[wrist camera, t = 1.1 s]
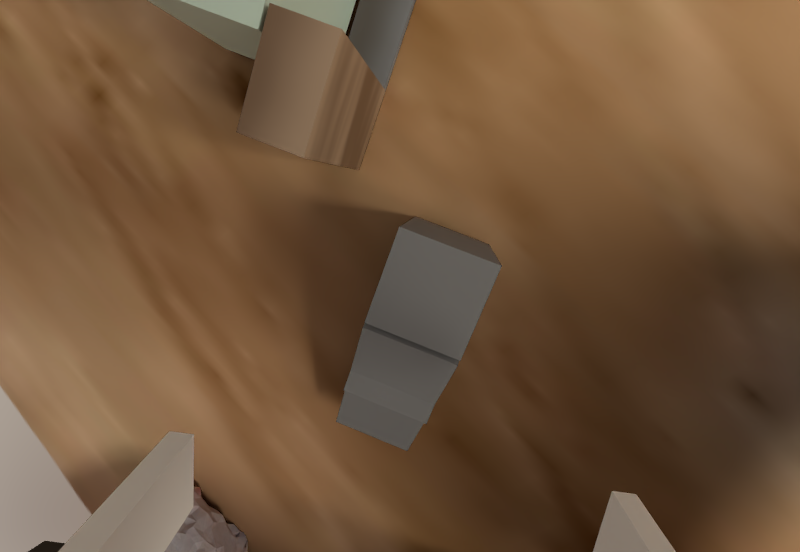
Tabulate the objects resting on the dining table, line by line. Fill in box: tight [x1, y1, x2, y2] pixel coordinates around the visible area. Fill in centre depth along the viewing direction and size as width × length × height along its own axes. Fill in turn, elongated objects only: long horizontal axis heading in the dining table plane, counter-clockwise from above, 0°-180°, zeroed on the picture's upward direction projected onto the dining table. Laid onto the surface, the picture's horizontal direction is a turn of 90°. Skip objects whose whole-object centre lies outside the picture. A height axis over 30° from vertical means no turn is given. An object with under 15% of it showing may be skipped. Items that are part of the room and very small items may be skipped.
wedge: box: [336, 217, 502, 451], centre depth 25 cm, size 5×14×8 cm, turn 160°
